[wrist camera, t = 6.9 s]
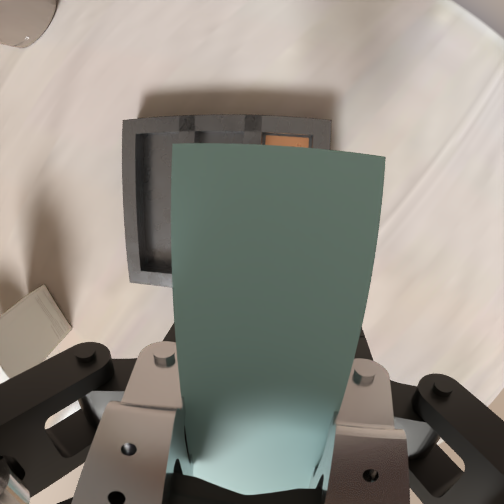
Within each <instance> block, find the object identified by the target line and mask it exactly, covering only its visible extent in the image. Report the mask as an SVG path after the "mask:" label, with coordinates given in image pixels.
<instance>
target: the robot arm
mask: <svg viewBox="0 0 504 504" xmlns="http://www.w3.org/2000/svg"><path fill="white" fill-rule="evenodd" d="M55 9H56V0H0V44H4V45H9V46H12V47H18V48H24V47H27V46H29V45H31V44H32V43H34V42H35V41H36V40H37V39H38V38H39V37H40V36H41V35H42V34H43V32H44V31H45V30H46V28H47V27H48V25H49V24H50V22H51V20H52V18H53V15H54V12H55ZM77 400H78V402H79V404H80V406H81V409H80V410H78V411H77V412H75V413H73V414H72V415H70V416H69V417H67V418H65V419H64V420H62V421H60V422H59V423H57V424H56V425H54V426H52V427H51V428H49V429H45V422H46V421H47V419H48V418H49V417H50V416H52V415H54V414H55V413H57V412H59V411H60V410H62V409H64V408H65V407H67V406H69V405H70V404H72V403H74V402H75V401H77ZM185 416H186V409H185V400H184V397H183V396H181V391H180V382H179V372H178V361H177V350H176V337H175V323H174V324H173V325H172V327H171V328H170V330H169V332H168V333H167V335H166V336H165V338H164V340H163V341H162V342H156V343H153V344H150V345H148V346H146V347H145V348H143V349H142V350H141V352H140V353H139V356H138V358H134V359H112V358H111V354H110V351H109V349H108V348H107V347H106V346H104V345H103V344H100V343H96V342H85V343H80V344H77V345H75V346H73V347H71V348H69V349H67V350H65V351H63V352H61V353H59V354H57V355H55V356H53V357H51V358H50V359H48V360H46V361H44V362H42V363H40V364H38V365H36V366H34V367H32V368H30V369H28V370H26V371H24V372H22V373H20V374H18V375H16V376H14V377H12V378H10V379H9V380H7V381H5V382H3V383H1V384H0V504H29V502H30V498H31V497H32V496H34V495H35V494H37V493H39V492H40V491H42V490H43V489H45V488H47V487H48V486H50V485H51V484H53V483H54V482H56V481H57V480H59V479H60V478H62V477H63V476H65V475H66V474H68V473H69V472H71V471H72V470H74V469H75V468H77V467H78V466H80V465H81V464H83V463H84V462H85V464H84V466H83V470H82V472H81V475H80V478H79V481H78V485H77V487H76V490H75V493H74V497H72V498H70V499H68V500H65V501H62V502H60V503H57V504H410V490H409V489H410V488H411V489H412V491H413V492H414V493H415V494H416V495H417V497H418V498H419V499H420V500H421V502H422V503H423V504H504V421H503V420H502V419H501V418H499V417H498V416H497V415H496V414H495V413H494V412H492V411H491V410H490V409H489V408H488V407H487V406H485V405H484V404H483V403H482V402H481V401H480V400H478V399H477V398H476V397H475V396H474V395H473V394H471V393H470V392H469V391H468V390H467V389H465V388H464V387H463V386H462V385H461V384H459V383H458V382H457V381H456V380H454V379H453V378H451V377H449V376H446V375H443V374H429V375H426V376H424V377H423V378H422V379H421V380H420V381H419V384H418V386H411V385H406V384H401V383H397V382H394V381H391V380H390V377H389V373H388V372H387V370H386V369H385V368H384V367H383V366H382V365H380V364H379V363H377V362H375V361H373V358H372V355H371V352H370V349H369V346H368V343H367V341H366V338H365V335H364V332H363V330H362V327H361V332H360V336H359V340H358V344H357V349H356V353H355V357H354V361H353V365H352V368H351V372H350V376H349V380H348V383H347V387H346V390H345V394H344V397H343V400H342V404H341V407H340V410H339V411H334V413H333V416H332V419H331V422H330V425H329V431H328V437H327V442H326V446H325V450H324V453H323V456H322V458H321V461H320V463H319V466H318V467H315V468H314V471H313V473H312V476H311V480H310V484H309V488H308V489H305V488H297V489H292V490H285V491H279V492H272V493H264V494H255V495H244V494H240V493H237V492H234V491H231V490H228V489H226V488H223V487H220V486H218V485H215V484H212V483H210V482H207V481H205V480H203V479H200V478H198V477H193V467H194V463H193V457H192V454H189V452H188V445H187V438H186V431H185ZM440 437H441V438H442V439H443V440H444V441H445V442H446V443H447V444H448V445H449V446H450V447H451V448H452V449H453V450H454V451H455V452H456V453H457V454H458V455H459V456H460V457H461V458H462V460H463V461H464V464H465V472H463V471H462V470H461V469H460V468H459V467H458V466H457V465H456V464H455V463H454V462H453V461H452V460H451V459H450V458H449V457H448V455H447V454H446V453H445V452H444V451H443V450H442V449H441V448H440V447H439V446H438V445H437V444H436V443H437V442H438V440H439V439H440Z"/></svg>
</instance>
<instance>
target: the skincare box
mask: <svg viewBox="0 0 504 504" xmlns="http://www.w3.org/2000/svg"><path fill="white" fill-rule="evenodd" d="M71 330H72V328H71V326H70V325H69V323H68V322H67V320H66V319H65V317H64V316H63V314H62V313H61V311H60V309H59V308H58V306H57V305H56V303H55V301H54V300H53V298H52V296H51V295H50V293H49V291H48V290H47V288H46V286H45V285H42V286H40V287H39V288H37V289H36V290H34V291H33V292H31V293H30V294H28V295H27V296H25V297H24V298H23V299H21V300H20V301H19V302H17V303H16V304H15V305H14V306H12V307H11V308H10V309H9V310H7V311H6V312H5V313H4V314H2V315H1V316H0V384H1V383H3V382H5V381H7V380H9V379H10V378H12V377H14V376H16V375H18V374H20V373H22V372H24V371H26V370H28V369H30V368H32V367H34V366H36V365H38V364H40V363H42V362H43V361H44V360H45V359H46V357H47V356H48V355H49V354H50V353H51V352H52V351H53V350H54V348H55V347H56V346H57V345H58V344H59V343H60V342H61V341H62V340H63V339H64V338H65V336H66V335H67V334H68V333H69V332H70V331H71Z"/></svg>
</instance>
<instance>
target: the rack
mask: <svg viewBox="0 0 504 504" xmlns="http://www.w3.org/2000/svg"><path fill="white" fill-rule="evenodd" d="M330 137H331V120H324V119H313V118H301V117H286V116H267V115H186V116H166V117H152V118H140V119H129V120H123V128H122V182H123V208H124V225H125V239H126V251H127V261H128V271H129V279H130V283H139V284H147V285H155V286H164V287H173V286H172V257H171V172H172V144H180V143H224V144H257V145H276V146H291V147H304V148H316V149H326V150H330Z"/></svg>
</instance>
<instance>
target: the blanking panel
mask: <svg viewBox="0 0 504 504" xmlns="http://www.w3.org/2000/svg"><path fill="white" fill-rule="evenodd" d="M384 171H385V157H383V156H376V155H369V154H361V153H353V152H345V151H336V150H326V149H316V148H304V147H291V146H276V145H257V144H224V143H180V144H172V172H171V257H172V286H173V306H174V323H175V337H176V350H177V361H178V372H179V382H180V391H181V396H183V397H184V400H185V409H186V416H185V431H186V438H187V445H188V452H189V454H192V457H193V463H194V467H193V477H198V478H200V479H203V480H205V481H207V482H210V483H212V484H215V485H218V486H220V487H223V488H226V489H228V490H231V491H234V492H237V493H240V494H244V495H255V494H264V493H272V492H279V491H285V490H292V489H297V488H305V489H308V488H309V484H310V480H311V476H312V473H313V471H314V468H315V467H318V466H319V463H320V461H321V458H322V456H323V453H324V450H325V446H326V442H327V437H328V431H329V425H330V422H331V419H332V416H333V413H334V411H339V410H340V407H341V404H342V400H343V397H344V394H345V390H346V387H347V383H348V380H349V376H350V372H351V368H352V365H353V361H354V357H355V353H356V349H357V344H358V340H359V336H360V332H361V327H362V323H363V318H364V313H365V308H366V303H367V298H368V293H369V288H370V282H371V276H372V270H373V264H374V258H375V252H376V245H377V238H378V230H379V222H380V214H381V205H382V195H383V184H384Z"/></svg>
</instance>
